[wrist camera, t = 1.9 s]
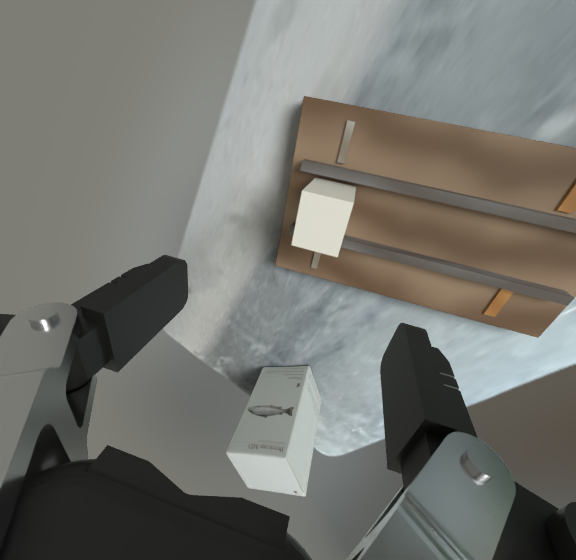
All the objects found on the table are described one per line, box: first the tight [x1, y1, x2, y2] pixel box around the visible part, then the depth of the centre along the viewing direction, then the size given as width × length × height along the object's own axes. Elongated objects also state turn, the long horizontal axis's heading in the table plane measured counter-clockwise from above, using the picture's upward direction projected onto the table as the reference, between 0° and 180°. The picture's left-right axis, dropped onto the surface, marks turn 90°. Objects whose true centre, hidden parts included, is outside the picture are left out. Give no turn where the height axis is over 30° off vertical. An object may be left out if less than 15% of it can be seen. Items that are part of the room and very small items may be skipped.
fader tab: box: [292, 178, 356, 257], centre depth 21 cm, size 4×4×6 cm
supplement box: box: [226, 366, 321, 496], centre depth 34 cm, size 7×7×13 cm
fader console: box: [276, 96, 576, 338], centre depth 23 cm, size 15×26×3 cm, turn 80°
